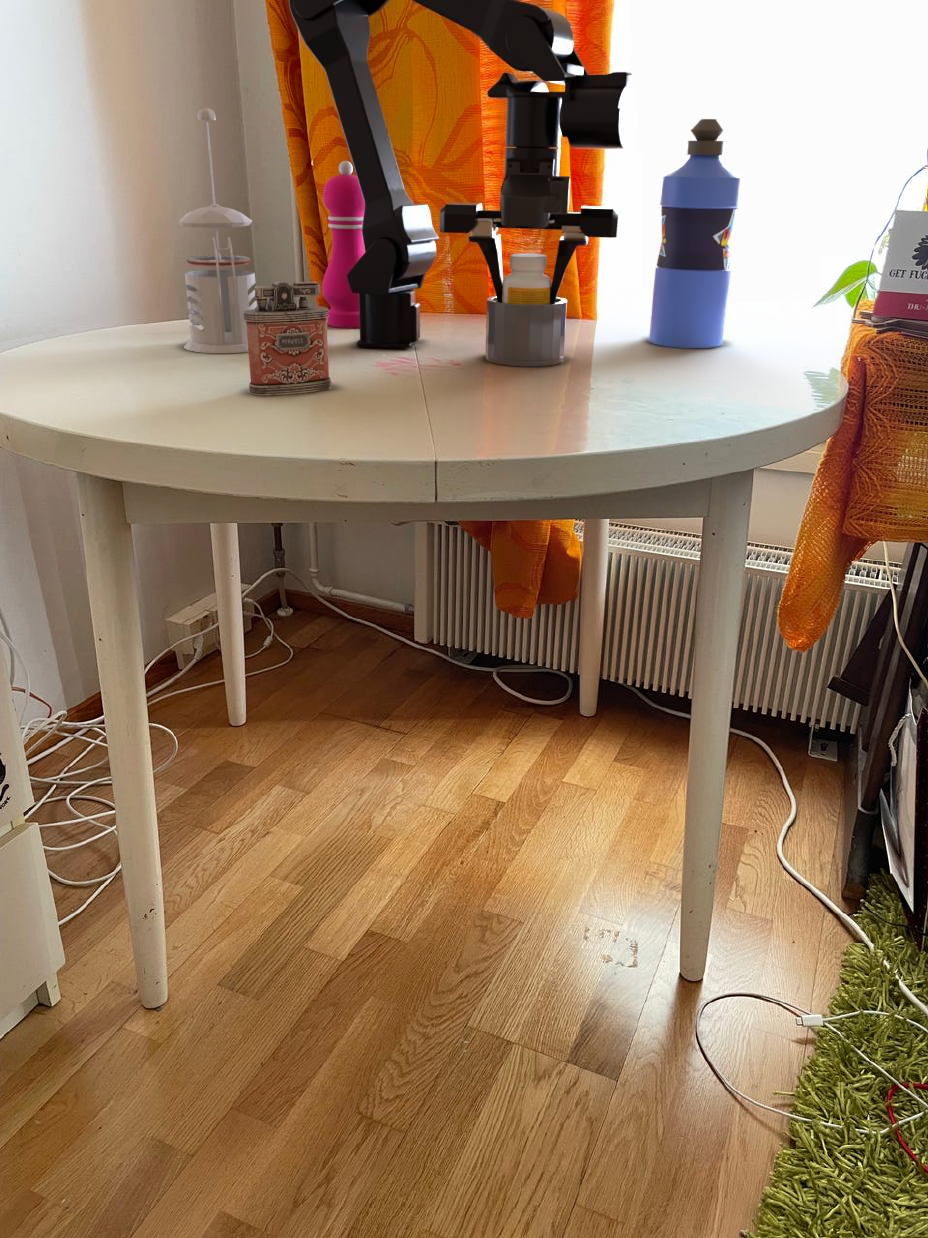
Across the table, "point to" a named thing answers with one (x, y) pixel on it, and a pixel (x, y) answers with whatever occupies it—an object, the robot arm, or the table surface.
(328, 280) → the pepper mill
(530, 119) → the robot arm
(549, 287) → the supplement bottle
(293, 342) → the lighter
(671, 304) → the water bottle
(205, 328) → the french press
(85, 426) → the table surface
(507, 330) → the grey cylindrical cup
